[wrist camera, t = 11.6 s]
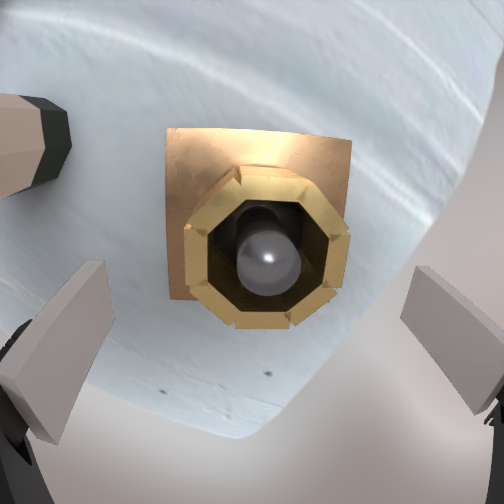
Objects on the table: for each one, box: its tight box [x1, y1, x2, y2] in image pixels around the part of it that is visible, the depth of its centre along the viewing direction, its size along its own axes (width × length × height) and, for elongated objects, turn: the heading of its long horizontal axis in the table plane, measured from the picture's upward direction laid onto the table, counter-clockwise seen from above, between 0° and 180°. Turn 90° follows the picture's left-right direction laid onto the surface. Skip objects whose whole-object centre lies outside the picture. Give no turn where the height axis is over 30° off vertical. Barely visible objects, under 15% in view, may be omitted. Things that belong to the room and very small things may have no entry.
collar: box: [184, 166, 351, 329], centre depth 18 cm, size 9×9×6 cm
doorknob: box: [166, 128, 352, 302], centre depth 19 cm, size 14×14×10 cm
